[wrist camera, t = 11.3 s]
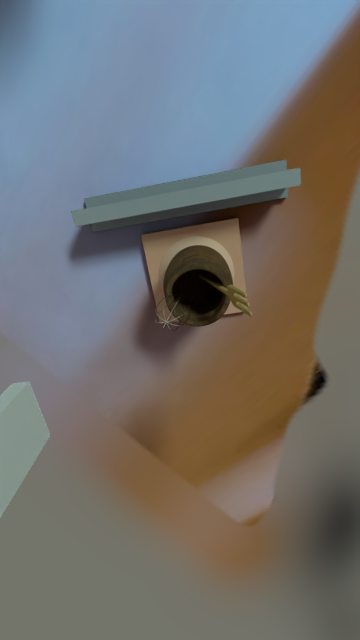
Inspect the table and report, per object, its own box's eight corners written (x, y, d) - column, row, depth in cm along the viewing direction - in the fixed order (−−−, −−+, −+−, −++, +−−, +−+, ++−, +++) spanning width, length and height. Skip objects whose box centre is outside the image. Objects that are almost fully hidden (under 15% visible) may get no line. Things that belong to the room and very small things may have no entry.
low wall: (86, 198, 30) (67, 199, 26) (284, 160, 28) (299, 154, 24) (94, 231, 31) (78, 237, 27) (286, 196, 29) (301, 197, 25)
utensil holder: (158, 255, 30) (134, 291, 19) (222, 233, 29) (236, 258, 18) (178, 311, 32) (167, 373, 21) (239, 292, 31) (261, 347, 20)
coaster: (142, 234, 31) (140, 235, 30) (237, 217, 30) (238, 218, 29) (160, 320, 34) (159, 324, 33) (246, 308, 33) (248, 311, 32)
